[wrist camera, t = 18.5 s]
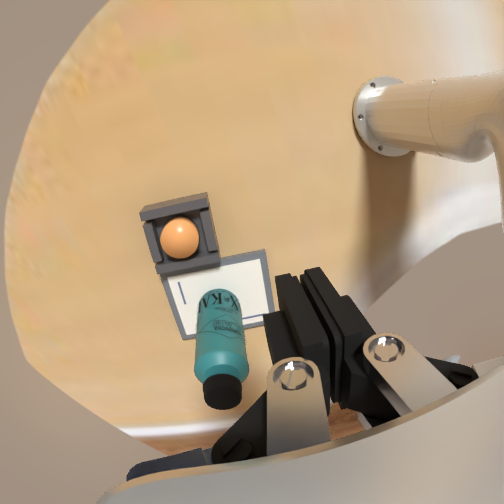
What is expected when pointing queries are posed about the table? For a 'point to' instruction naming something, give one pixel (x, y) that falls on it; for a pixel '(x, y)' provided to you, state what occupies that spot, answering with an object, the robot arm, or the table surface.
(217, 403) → the beverage bottle
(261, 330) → the table surface
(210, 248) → the button housing
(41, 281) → the table surface
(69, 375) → the table surface
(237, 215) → the table surface
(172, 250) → the button
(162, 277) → the drawing board
